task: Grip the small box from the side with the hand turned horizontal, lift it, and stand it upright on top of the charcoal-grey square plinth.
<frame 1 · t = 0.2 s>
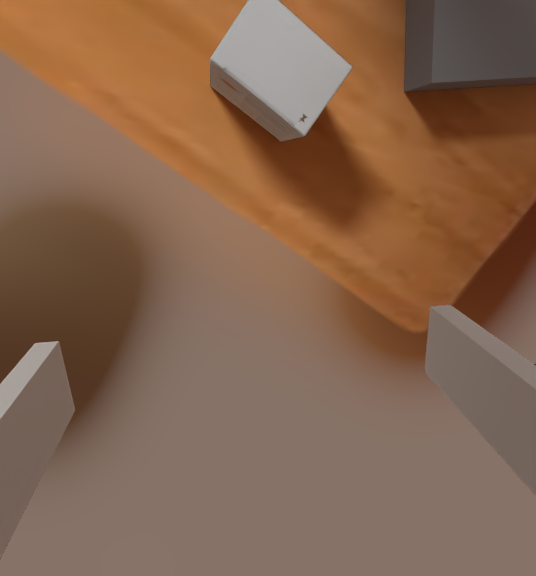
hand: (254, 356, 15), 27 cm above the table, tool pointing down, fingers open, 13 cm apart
small box: (263, 88, 38), on the table
plinth: (481, 1, 38), on the table
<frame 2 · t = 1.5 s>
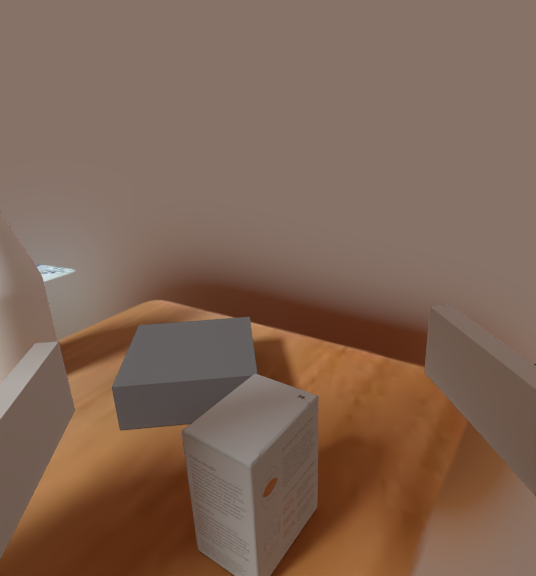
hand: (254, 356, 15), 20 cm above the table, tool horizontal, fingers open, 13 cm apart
small box: (260, 531, 32), on the table
wine bottle: (21, 375, 54), on the table
plinth: (195, 385, 50), on the table
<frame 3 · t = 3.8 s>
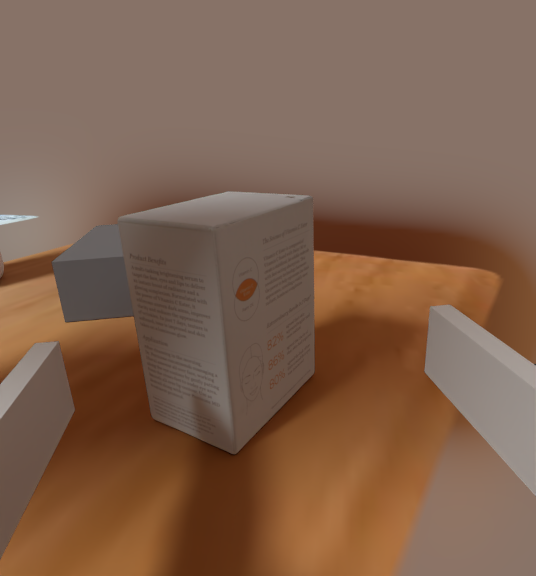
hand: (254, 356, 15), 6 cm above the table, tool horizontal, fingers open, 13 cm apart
small box: (238, 399, 24), on the table
plinth: (163, 285, 42), on the table
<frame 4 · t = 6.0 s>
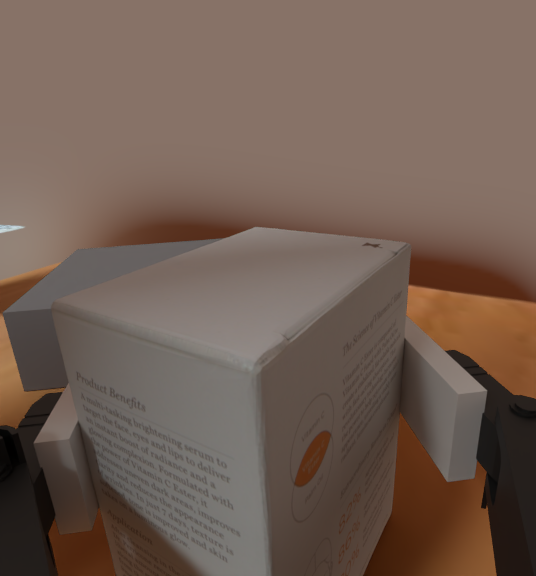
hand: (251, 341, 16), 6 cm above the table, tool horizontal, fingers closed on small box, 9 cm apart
small box: (274, 570, 14), on the table, touching gripper
plinth: (159, 329, 32), on the table
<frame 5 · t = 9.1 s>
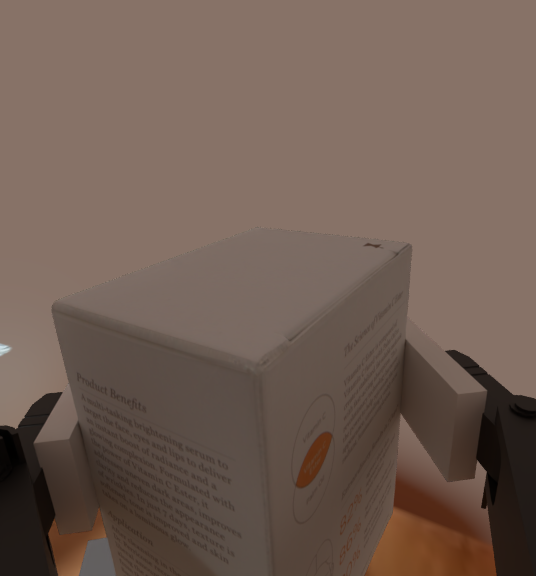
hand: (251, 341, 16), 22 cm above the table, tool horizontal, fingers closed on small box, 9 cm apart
small box: (274, 571, 14), point 16 cm above the table, touching gripper
when the fingers open (12 cm above the table, at t = 12.3 s): small box drops 1 cm, resting on plinth.
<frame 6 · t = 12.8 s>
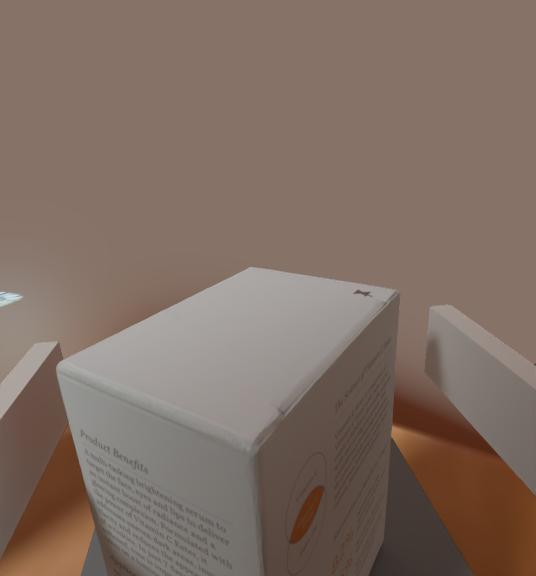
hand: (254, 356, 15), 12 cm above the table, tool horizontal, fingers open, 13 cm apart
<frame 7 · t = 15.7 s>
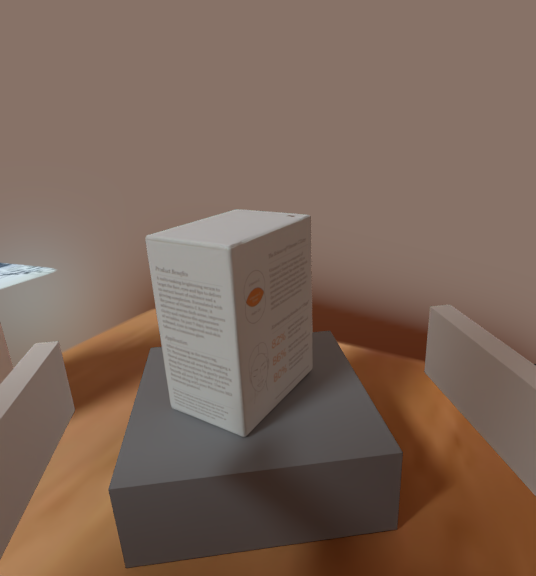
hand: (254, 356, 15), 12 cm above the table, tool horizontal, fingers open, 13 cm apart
small box: (246, 392, 27), point 5 cm above the table, touching plinth
plinth: (253, 453, 29), on the table
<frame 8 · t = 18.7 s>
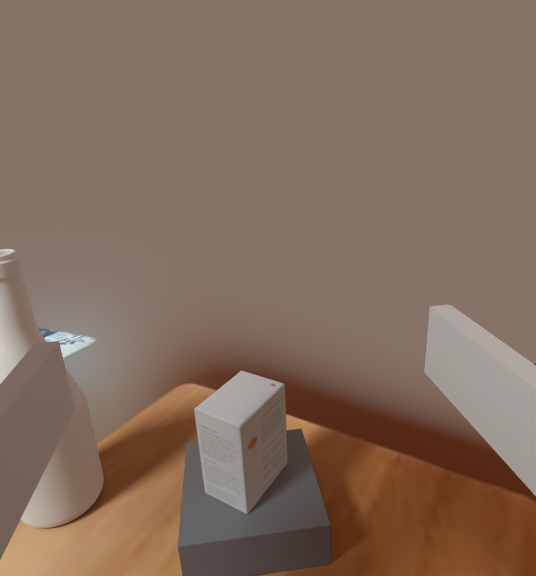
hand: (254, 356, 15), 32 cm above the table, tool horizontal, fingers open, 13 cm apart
small box: (247, 480, 46), point 5 cm above the table, touching plinth
wine bottle: (63, 499, 51), on the table
plinth: (252, 514, 47), on the table
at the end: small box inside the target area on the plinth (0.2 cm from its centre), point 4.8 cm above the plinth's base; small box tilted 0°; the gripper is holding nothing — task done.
